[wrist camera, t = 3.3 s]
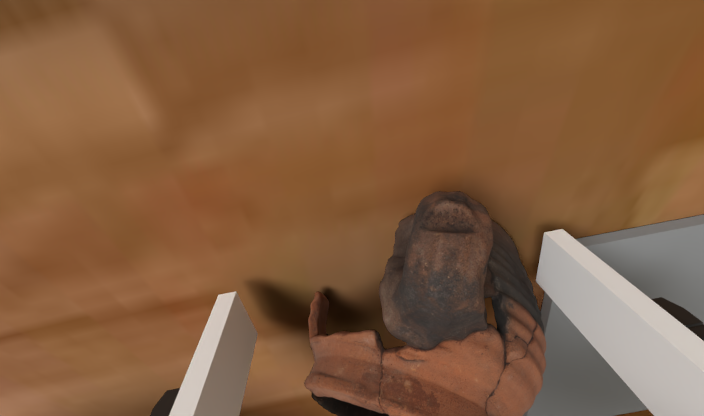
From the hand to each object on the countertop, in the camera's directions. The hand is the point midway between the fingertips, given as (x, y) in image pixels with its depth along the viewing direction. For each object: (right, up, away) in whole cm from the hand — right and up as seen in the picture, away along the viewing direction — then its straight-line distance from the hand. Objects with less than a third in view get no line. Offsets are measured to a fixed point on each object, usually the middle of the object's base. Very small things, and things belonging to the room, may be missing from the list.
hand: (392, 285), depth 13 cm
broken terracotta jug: (+1, +1, +2) cm, 2 cm away
